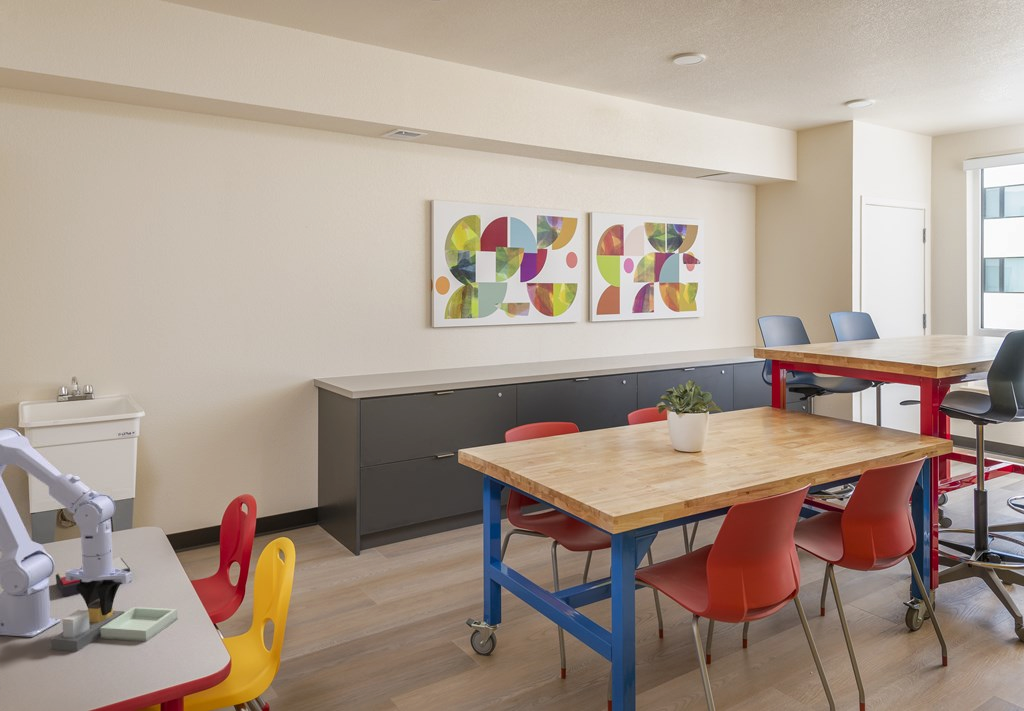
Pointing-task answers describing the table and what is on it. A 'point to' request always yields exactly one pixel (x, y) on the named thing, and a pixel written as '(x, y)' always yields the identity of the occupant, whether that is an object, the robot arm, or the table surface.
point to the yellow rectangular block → (97, 612)
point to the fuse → (76, 623)
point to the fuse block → (82, 636)
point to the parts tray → (139, 624)
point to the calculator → (70, 586)
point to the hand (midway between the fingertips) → (100, 612)
